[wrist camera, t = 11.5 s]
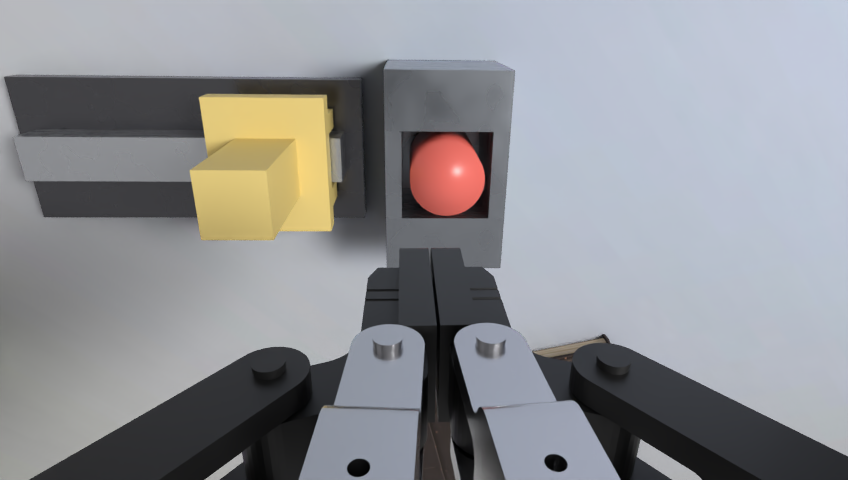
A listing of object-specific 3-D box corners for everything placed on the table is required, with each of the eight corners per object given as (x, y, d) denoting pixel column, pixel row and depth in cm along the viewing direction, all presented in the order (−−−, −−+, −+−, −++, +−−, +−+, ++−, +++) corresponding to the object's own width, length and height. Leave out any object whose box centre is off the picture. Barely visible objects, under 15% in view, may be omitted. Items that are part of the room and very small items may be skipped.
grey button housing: (387, 59, 29) (383, 69, 24) (494, 60, 30) (515, 70, 24) (390, 226, 33) (386, 268, 28) (484, 226, 33) (500, 267, 28)
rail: (17, 74, 29) (-25, 80, 26) (361, 78, 30) (357, 84, 27) (54, 211, 32) (21, 229, 29) (365, 211, 33) (362, 229, 30)
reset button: (409, 123, 29) (410, 143, 24) (474, 123, 29) (486, 143, 25) (409, 185, 30) (409, 215, 26) (471, 186, 31) (482, 215, 26)
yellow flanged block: (219, 89, 28) (140, 118, 20) (331, 90, 29) (300, 119, 20) (236, 211, 31) (172, 282, 23) (338, 211, 31) (312, 282, 23)
